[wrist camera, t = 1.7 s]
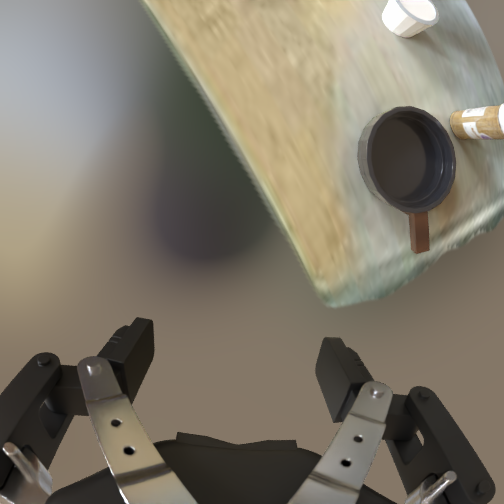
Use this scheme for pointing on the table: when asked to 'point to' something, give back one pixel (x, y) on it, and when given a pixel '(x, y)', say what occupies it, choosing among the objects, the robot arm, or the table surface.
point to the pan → (407, 159)
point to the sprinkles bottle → (479, 123)
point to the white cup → (409, 16)
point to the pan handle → (419, 231)
